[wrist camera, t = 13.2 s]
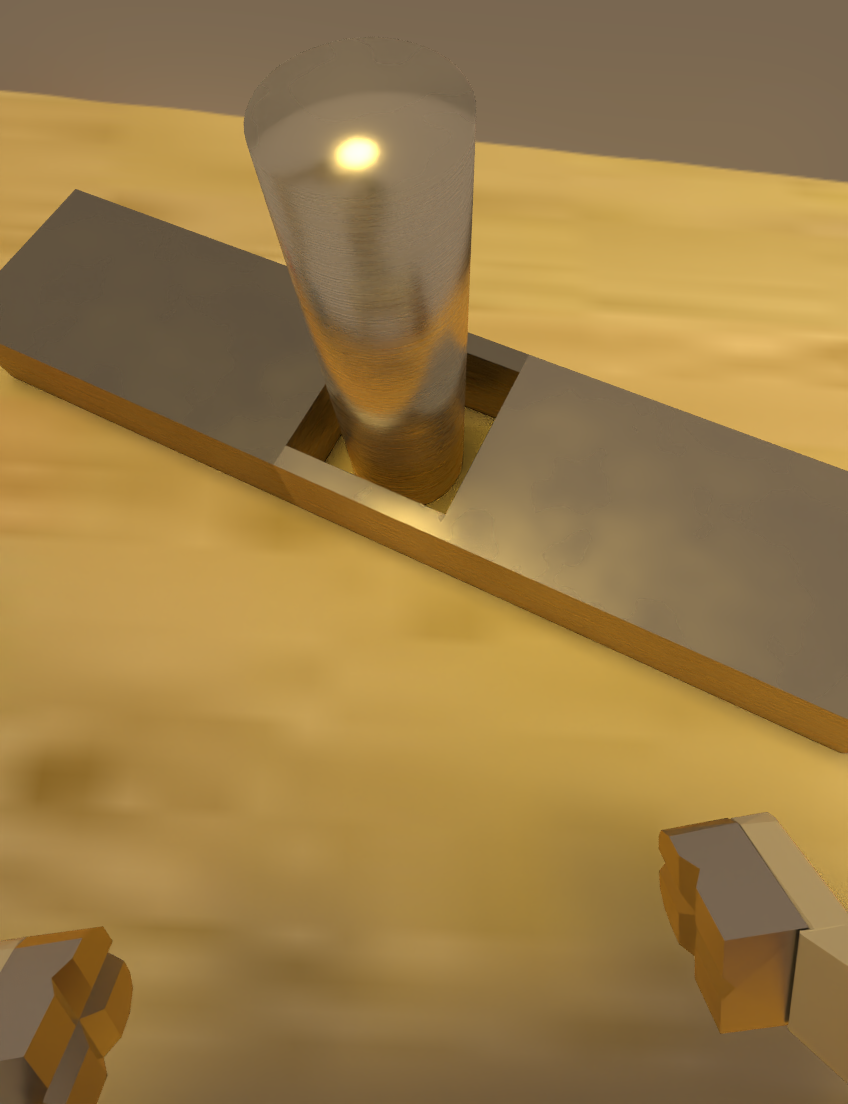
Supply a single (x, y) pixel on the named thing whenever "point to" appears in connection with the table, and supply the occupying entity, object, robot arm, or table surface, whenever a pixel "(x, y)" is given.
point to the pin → (377, 242)
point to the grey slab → (493, 479)
